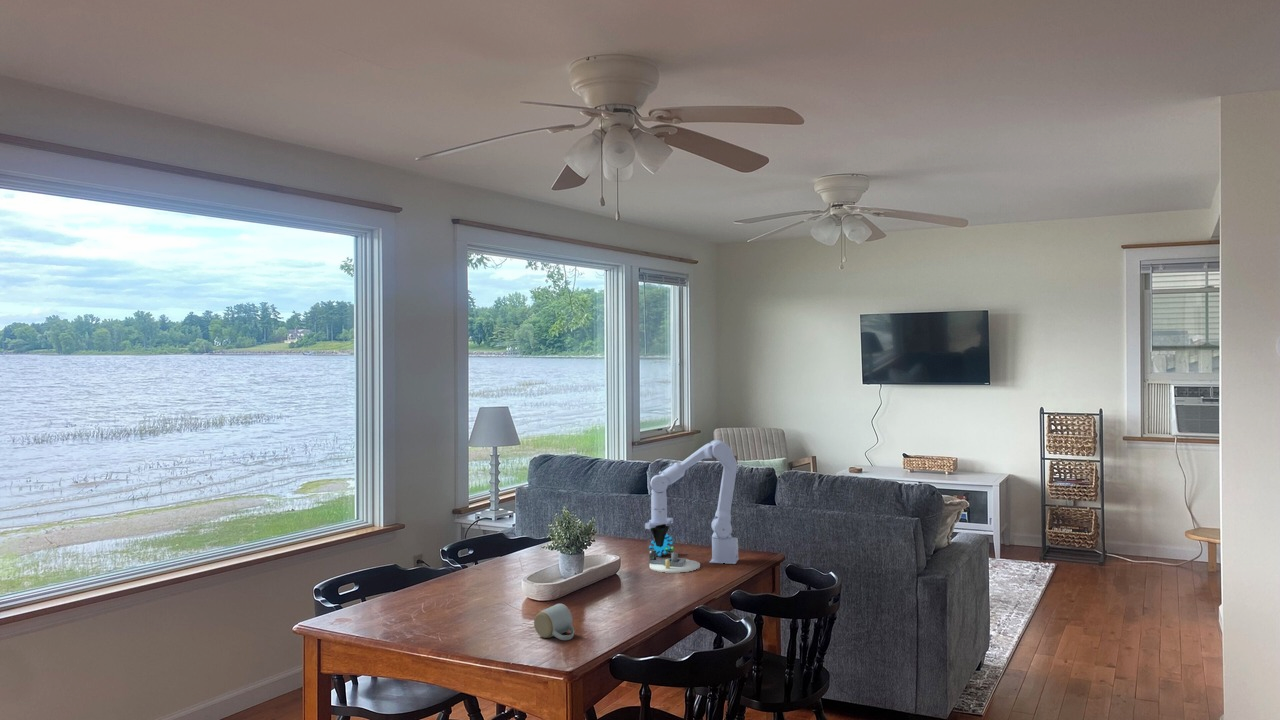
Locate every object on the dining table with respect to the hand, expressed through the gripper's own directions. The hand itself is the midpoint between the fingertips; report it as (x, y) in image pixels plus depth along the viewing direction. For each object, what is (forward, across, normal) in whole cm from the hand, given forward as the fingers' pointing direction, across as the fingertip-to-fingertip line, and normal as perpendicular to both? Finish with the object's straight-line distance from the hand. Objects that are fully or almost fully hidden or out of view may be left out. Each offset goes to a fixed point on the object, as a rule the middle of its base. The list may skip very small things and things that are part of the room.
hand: (659, 546), depth 316 cm
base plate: (+6, +2, +8) cm, 10 cm away
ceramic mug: (+7, +84, +28) cm, 88 cm away
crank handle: (+5, +3, +5) cm, 8 cm away
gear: (+7, -12, -7) cm, 15 cm away
